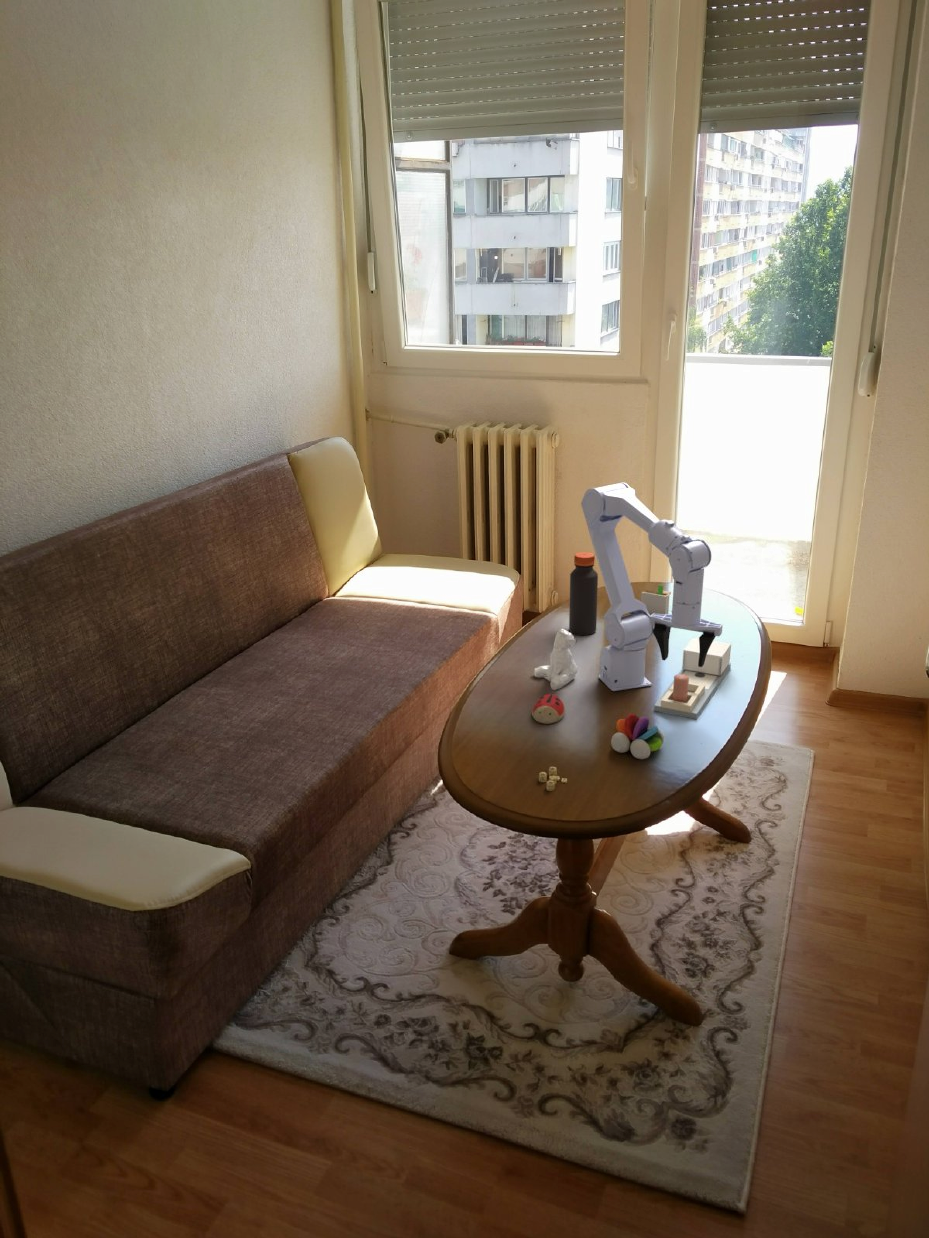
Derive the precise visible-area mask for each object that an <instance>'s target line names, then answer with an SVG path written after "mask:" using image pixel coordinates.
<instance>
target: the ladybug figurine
mask: <svg viewBox="0 0 929 1238" xmlns="http://www.w3.org/2000/svg"><path fill="white" fill-rule="evenodd" d="M531 714H532V718H533V720H535V721H536V722H538V723H539V724H544V725H545V724H546V725H550V724H553V723H557V722H558V721H559V722H560V721H561V719H563V717H564V716H565V714H566V708H565V703H564V702H563V700H562V699H561V698H560V697H559V696H558V695H556V694H553V693H549V694H544V695H543V696H541V697H540V698H538V700H536V702H535V704H534V706H533V708H532V711H531Z"/></svg>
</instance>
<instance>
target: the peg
mask: <svg viewBox="0 0 929 1238" xmlns="http://www.w3.org/2000/svg"><path fill="white" fill-rule="evenodd" d="M673 680H674V686H673V699H672V700H674V701H679V702H684V703H687V696H688V684H689V677H688V676H686V675H678V674H676V675H674V677H673Z"/></svg>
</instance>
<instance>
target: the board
mask: <svg viewBox="0 0 929 1238" xmlns="http://www.w3.org/2000/svg"><path fill="white" fill-rule="evenodd" d="M731 664H732V663H729V664H728V665H727V667H726V668H725V670H724V671H723V673H722V674H721V676H719V675H714V674H708V673H702V672H697V671H691V670H686V669H681V670H680V672H679V673H677V675H686V676H688V677H689V684H688V696H687V703H684V702H679V701H674V700H672V699H673V686H674V679H673V680H672V682H671V683H669V686H668V687H667V688H666V689H665V691H664V692H663V693H662V694H661V696H660V697H659V699H658V700H657V701H656V702H655V704H654V705H653V711H655V712H659V713H664V714H671V715H674V716H681V717H684V718H691V719H693V720H694V719H695V720H697V719H698V717H699V716H700V715H701V713H702V712H703V710H704V708H705V707H706V706H707V704H708V702H709V701H710V699H711V698H712V696H713V695H714V693H715V692H716V690H717V689H718V688H719V686H720V685H721V683H722V681H724V679H725V677H726V675H727V674H728V672H729V671H730V669H731V667H732V665H731Z"/></svg>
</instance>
